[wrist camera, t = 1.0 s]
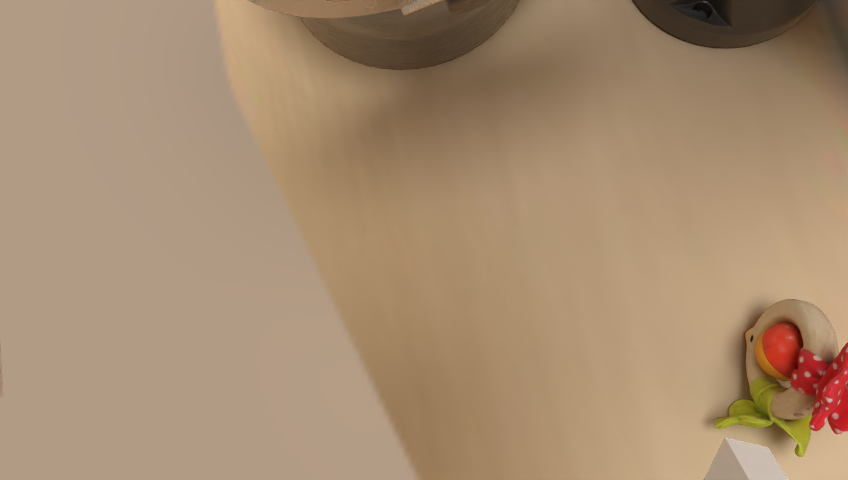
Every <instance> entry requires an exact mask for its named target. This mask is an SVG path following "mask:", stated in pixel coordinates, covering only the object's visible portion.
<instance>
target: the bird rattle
mask: <svg viewBox="0 0 848 480" xmlns="http://www.w3.org/2000/svg"><path fill="white" fill-rule="evenodd" d="M745 338H746V342H747V351H746V371H747V377H748V382H749V386H750V394H751V397H752V398H753V401H752V400H746V399H740V400H738V401H736V402H734V403H733V404H732V405H731V406H730V408H729V415H730V416H729V417H722V418H717V419H716V421H715V426H714V427H715V428H717V429H723V428H726V427H728V426H732V425H735V424H740V425H745V426H750V427H755V428H761V427H767V426H770V425H772V424H773V423H775V424H776V425H777V426H780V427H781V428H782V429H783V430H785V431H786V432H787V433H788V434H789V435H790V436H791V437H792V438H793V439H794V440H795V441H796V442H797V443H798V444H797V446H796V448H795V453H796V455H797V456H799V457H803V456H804V453H805V451H806V448H807V445H808V442H809V439H810V435H811V429H812V430H814V431H818V430H820V429H821V428H822V427H823V426H824V424H825V423H826V420H827V419H828V422H829V425H830V427H831V429H832V430H833V432H834V433H835V434H841V433H842V432H844V431H848V343H847V344H846V345H845V346H844V347H843V349H842V350H841V352H840V353H839V351H838V343H837V339H836V335H835V332H834V329H833V327H832V325H831V323H830V321H829V320H828V318H827V317H826V315H825V314H824V313H823V312H822V311H821V310H820V309H819V308H818V307H816V306H815V305H813V304H811V303H808V302H805V301H800V300H795V299H787V300H782V301H780V302H777V303H775V304H774V305H772V306H771V307H769V308H768V309H767V310H766V311H765V312H764V313H763V314H762V315H761V316H760V318H759V319H758V321H757V323H756V324H755V326H754V327H753V328H751V329H749V330H748V331H746V333H745ZM776 379H779V380H783V381H791V382H790V384H791V387H790V388H789V389H788V388H784V387H783V386H781V385H780V384H779V382H778V381H777V380H776ZM811 414H812V416H811Z"/></svg>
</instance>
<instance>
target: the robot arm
mask: <svg viewBox="0 0 848 480" xmlns="http://www.w3.org/2000/svg"><path fill="white" fill-rule="evenodd" d="M633 1H634V2H635V4H636V5H637V6H638V8H639V9H640V10H641V11H642V12H643V13H644V14H645V15H646V16H647V17H648V18H649V19H650V20H651V21H652V22H653V23H655V24H656V25H657V26H659V27H660V28H661V29H663V30H665V31H666V32H668V33H670V34H672V35H674V36H676V37H678V38H680V39H683V40H685V41H688V42H691V43H695V44H699V45H703V46H710V47H720V48H730V47H742V46H748V45H753V44H757V43H760V42H763V41H766V40H769V39H771V38H773V37H775V36H777V35H779V34H781V33H783V32H785V31H786V30H788V29H789V28H791V27H792V26H793V25H795V24H796V23H797V22H798V21H799V20H800V19H801V18H802V17H804V16H805V15H806V13H807V12H808V11H809V10H810V9H811V8H812V7H813V6H814V5H815V4H816V3H817V2H818V1H819V0H633ZM2 396H3V382H2V364H1V348H0V398H1V397H2ZM704 480H789V479H788V477H787V475H786V474H785V472H784V471H783V469H782V468H781V466H780V465H779V463H778V462H777V460H776V459H775V457H774V456H773V454H772V452H771V451H770V449H769V448H768V447H766V446H762V445H757V444H753V443H749V442H744V441H740V440H736V439H731V438H727V437H725V438H724V440H723V442H722V444H721V446H720V448H719V450H718V452H717V454H716V456H715V458H714V460H713V462H712V465H711V467H710V469H709V471H708V473H707V475H706V477H705V479H704Z"/></svg>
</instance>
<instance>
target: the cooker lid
mask: <svg viewBox="0 0 848 480" xmlns="http://www.w3.org/2000/svg"><path fill="white" fill-rule="evenodd" d="M248 1H250V2H252V3H254V4H257V5H259V6H261V7H263V8H266V9H269V10H272V11H276V12H279V13H283V14H288V15H294V16H300V17H312V18H345V17H355V16H364V15H370V14H376V13H382V12H387V11H391V10H396V9H400V8H401V11H402V13H403V15H406V14H409V13H411V12H414V11H417V10H419V9H422V8H424V7H427V6H430V5H432V4H435V3H437V2H440V1H443V0H248ZM490 1H491V0H445V2H446V4H447V7H448V9H449V11H450V12H451V13H464V12H468V11H471V10H474V9H477V8H479V7H481V6H483V5H485V4H487V3H488V2H490Z"/></svg>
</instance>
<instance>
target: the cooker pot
mask: <svg viewBox="0 0 848 480" xmlns="http://www.w3.org/2000/svg"><path fill="white" fill-rule="evenodd" d="M518 2H519V0H491V1H490V2H488V3H487V4H485V5H483V6H481V7H479V8H477V9H474V10H471V11H468V12H464V13H451V12H450V11H449V9H448V7H447V4H446V2H445V0H443V1H440V2H437V3H435V4H432V5H430V6H427V7H424V8H422V9H419V10H417V11H414V12H411V13H409V14H406V15H403V13H402V11H401V8H400V9H396V10H391V11H387V12H382V13H376V14H370V15H364V16H355V17H345V18H312V17H300V18H301V20H302V21H303V23H304V24H305V25H306V27H307V28H308V29H309V30H310V31H311V32H312V34H313V35H314V36H315V37H316V38H318V39H319V40H320V41H321V42H322V43H323V44H324V45H326V46H327V47H329V48H330V49H332V50H333V51H335V52H336V53H338V54H340V55H342V56H344V57H346V58H348V59H350V60H352V61H355V62H358V63H361V64H364V65H367V66H372V67H377V68H383V69H396V70H404V69H418V68H424V67H429V66H434V65H437V64H441V63H444V62H447V61H450V60H452V59H455V58H457V57H459V56H461V55H463V54H466V53H467V52H469V51H471V50H472V49H474V48H475V47H477V46H479V45H480V44H482V43H483V42H484V41H485V40H487V39H488V38H489V37H490V36H492V35H493V34H494V33H495V32H496V31H497V30H498V29H499V28H500V27H501V26H502V25H503V24H504V23H505V21H506V20H507V19H508V17H509V16H510V15H511V13H512V12H513V11H514V9H515V8H516V6H517V4H518Z"/></svg>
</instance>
